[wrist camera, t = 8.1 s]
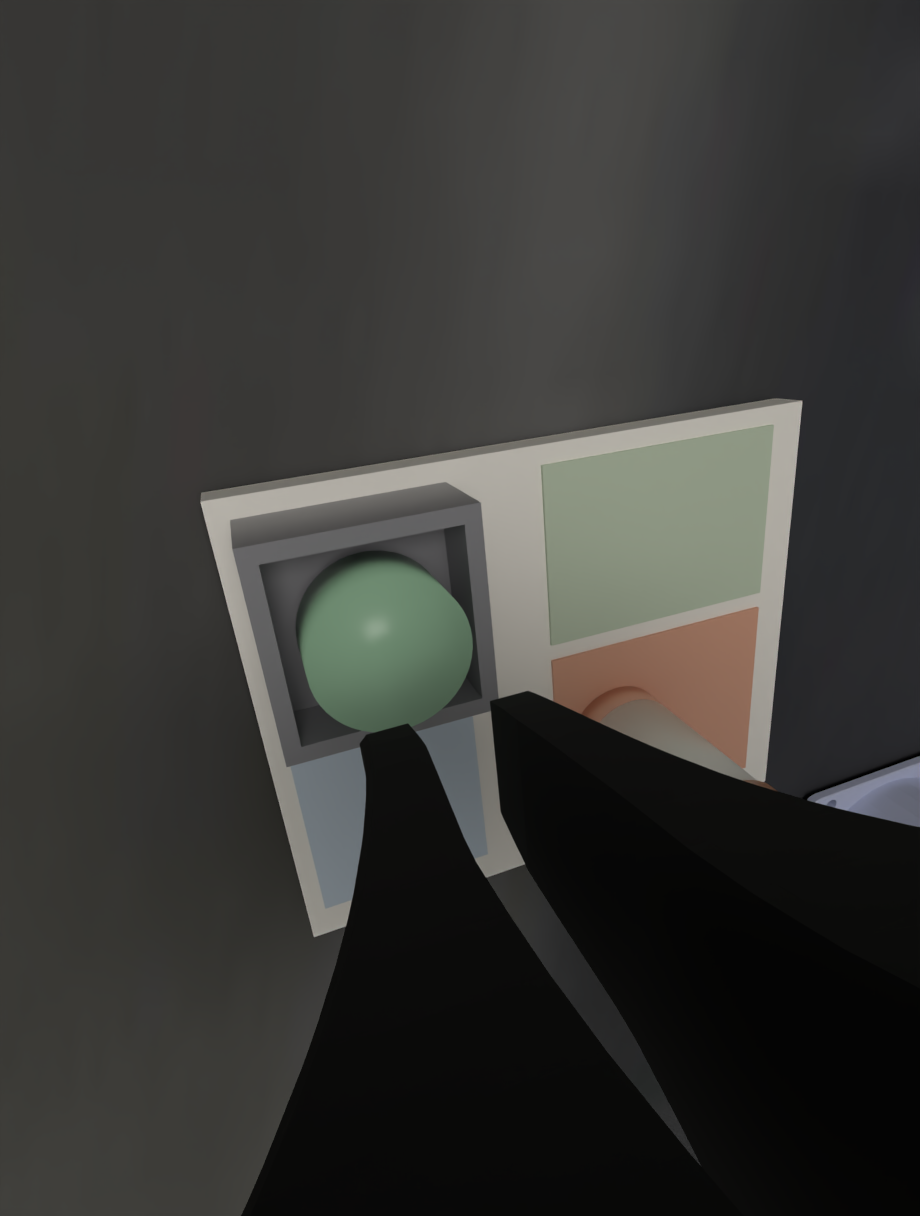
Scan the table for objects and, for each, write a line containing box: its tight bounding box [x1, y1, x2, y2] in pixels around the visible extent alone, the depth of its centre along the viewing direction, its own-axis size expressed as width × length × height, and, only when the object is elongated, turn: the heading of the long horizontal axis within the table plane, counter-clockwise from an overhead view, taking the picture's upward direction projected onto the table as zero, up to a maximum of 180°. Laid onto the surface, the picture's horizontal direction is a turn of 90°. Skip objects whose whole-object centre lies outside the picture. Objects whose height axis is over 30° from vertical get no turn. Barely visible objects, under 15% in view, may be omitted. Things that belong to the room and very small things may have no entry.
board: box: [200, 398, 802, 937], centre depth 19 cm, size 16×13×1 cm
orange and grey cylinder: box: [582, 686, 777, 791], centre depth 17 cm, size 3×3×7 cm
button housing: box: [230, 482, 499, 767], centre depth 15 cm, size 5×5×2 cm
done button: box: [296, 551, 473, 732], centre depth 14 cm, size 3×3×2 cm
